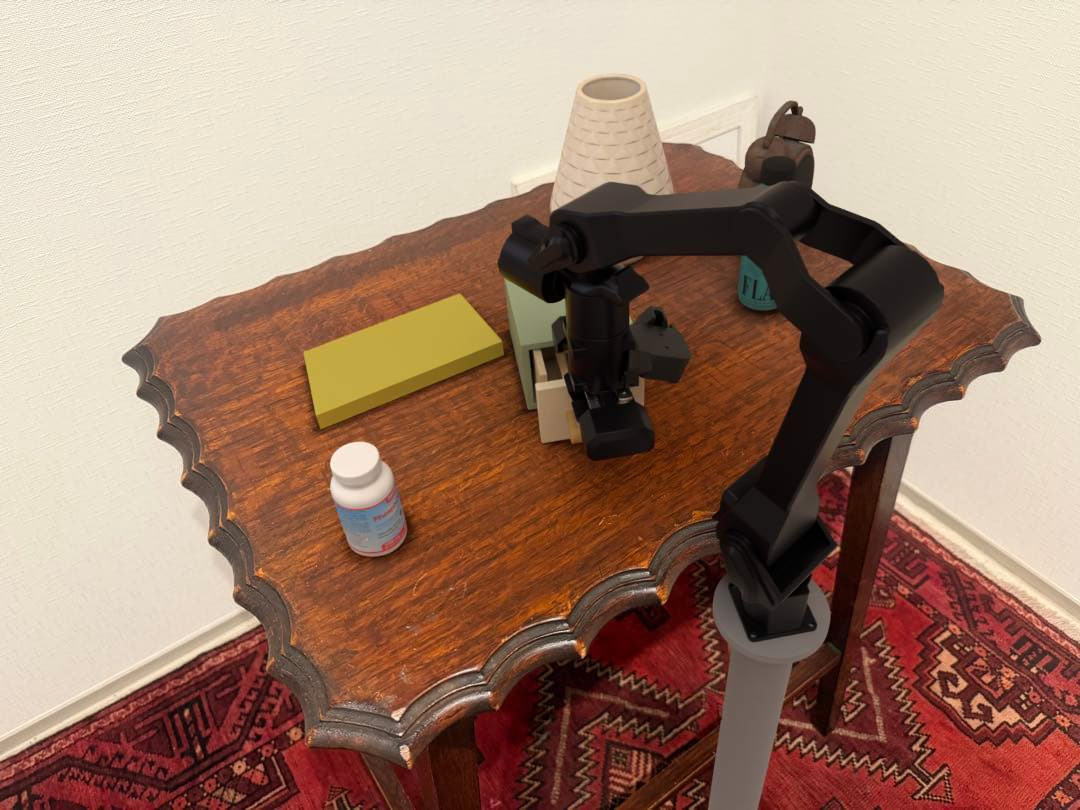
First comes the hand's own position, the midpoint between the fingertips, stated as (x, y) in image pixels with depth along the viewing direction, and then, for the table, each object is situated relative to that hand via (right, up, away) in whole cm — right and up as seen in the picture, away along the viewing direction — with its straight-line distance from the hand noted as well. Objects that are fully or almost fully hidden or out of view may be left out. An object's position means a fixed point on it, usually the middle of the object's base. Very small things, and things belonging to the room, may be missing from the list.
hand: (601, 441), depth 89 cm
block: (-1, +5, +9) cm, 10 cm away
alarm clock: (+26, +26, +32) cm, 49 cm away
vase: (+4, +27, +35) cm, 44 cm away
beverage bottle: (+22, +16, +23) cm, 36 cm away
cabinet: (-3, +9, +17) cm, 19 cm away
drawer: (-1, +4, +9) cm, 10 cm away
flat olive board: (-24, +9, +19) cm, 32 cm away
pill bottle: (-23, -10, -1) cm, 25 cm away
